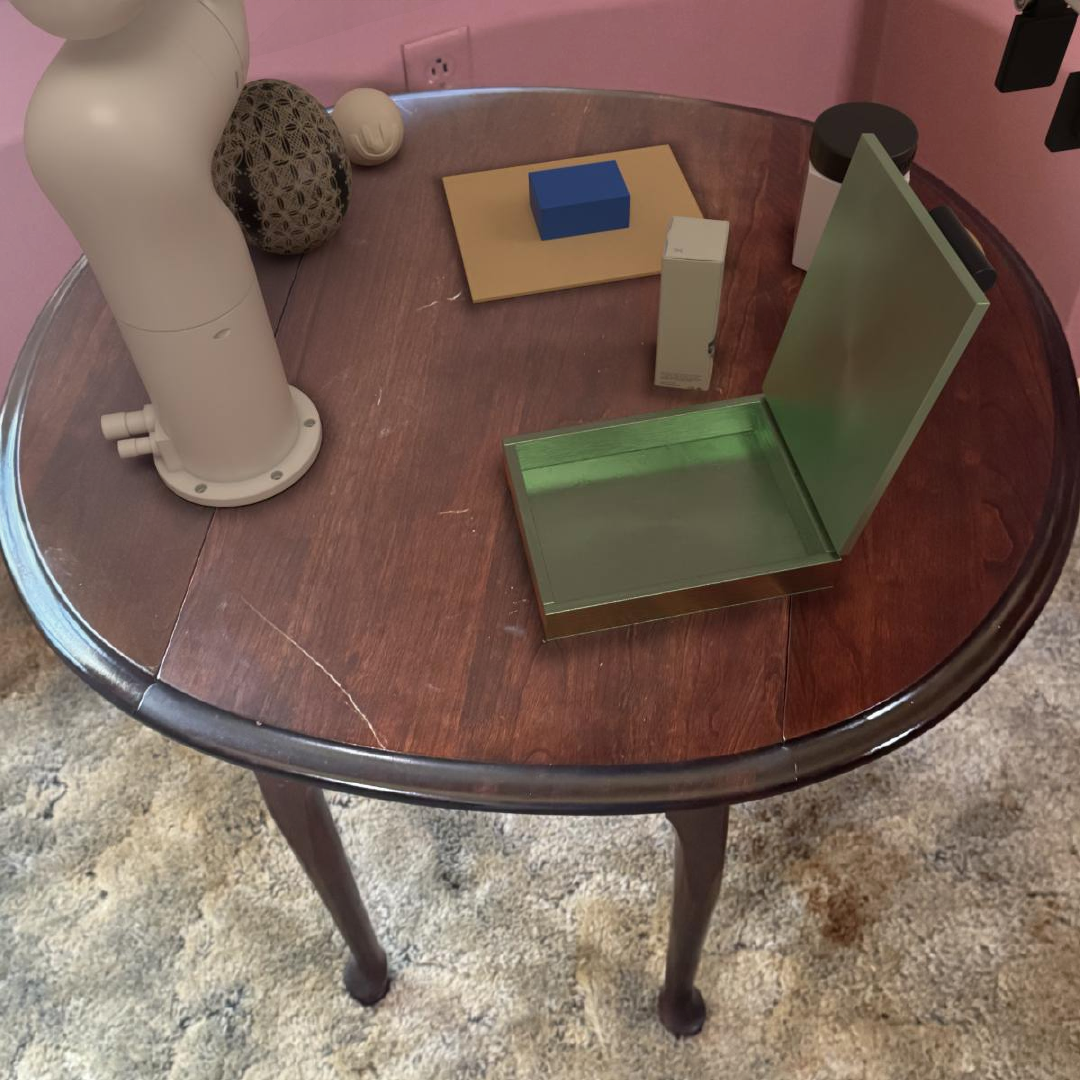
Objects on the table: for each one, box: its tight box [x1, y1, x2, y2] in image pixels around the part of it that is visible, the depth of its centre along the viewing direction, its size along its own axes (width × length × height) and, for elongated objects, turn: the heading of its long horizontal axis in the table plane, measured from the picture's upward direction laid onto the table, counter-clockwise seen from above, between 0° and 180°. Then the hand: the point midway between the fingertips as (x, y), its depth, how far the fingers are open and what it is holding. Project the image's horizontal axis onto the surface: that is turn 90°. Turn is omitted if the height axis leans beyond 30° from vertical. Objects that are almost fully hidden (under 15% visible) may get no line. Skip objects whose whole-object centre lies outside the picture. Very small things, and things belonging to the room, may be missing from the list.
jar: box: [791, 101, 920, 272], centre depth 92 cm, size 9×8×12 cm
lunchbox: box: [501, 392, 842, 642], centre depth 77 cm, size 20×16×4 cm
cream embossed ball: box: [330, 87, 405, 167], centre depth 105 cm, size 7×7×7 cm
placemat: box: [441, 143, 705, 304], centre depth 100 cm, size 22×18×1 cm
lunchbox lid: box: [761, 133, 998, 556], centre depth 69 cm, size 20×16×5 cm
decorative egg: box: [211, 78, 353, 256], centre depth 94 cm, size 12×12×15 cm
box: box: [653, 216, 730, 391], centre depth 83 cm, size 5×4×13 cm
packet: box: [528, 160, 630, 241], centre depth 99 cm, size 8×6×3 cm
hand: (1049, 112), depth 57 cm, fingers open, 4 cm apart
